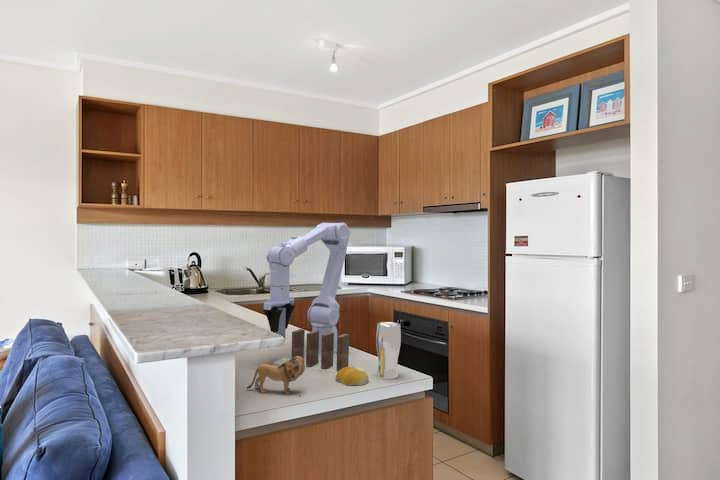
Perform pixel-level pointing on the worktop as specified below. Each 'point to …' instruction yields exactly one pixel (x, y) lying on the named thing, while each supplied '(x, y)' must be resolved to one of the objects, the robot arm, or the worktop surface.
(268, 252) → the robot arm
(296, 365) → the lion figurine
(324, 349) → the domino
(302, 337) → the domino
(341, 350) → the domino
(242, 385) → the worktop surface
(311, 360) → the domino
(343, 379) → the bread roll
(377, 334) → the beer glass
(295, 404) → the worktop surface
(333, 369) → the mat
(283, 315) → the domino
